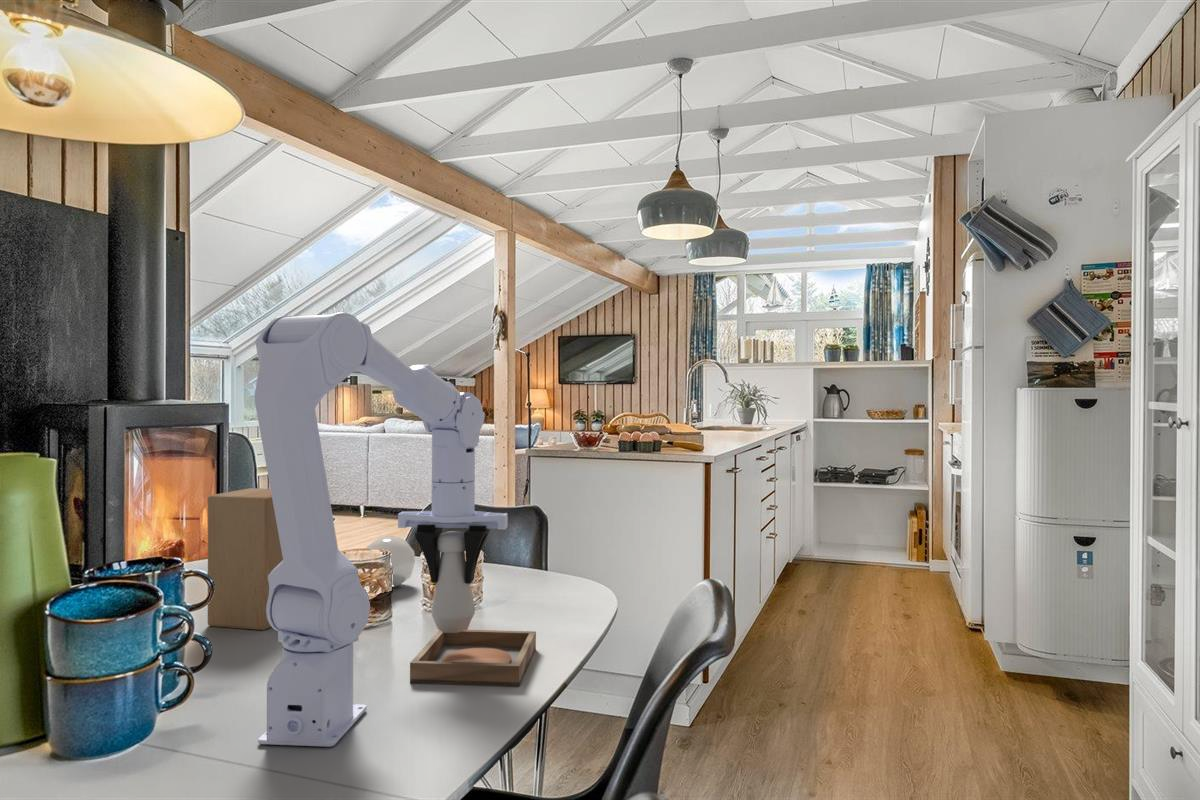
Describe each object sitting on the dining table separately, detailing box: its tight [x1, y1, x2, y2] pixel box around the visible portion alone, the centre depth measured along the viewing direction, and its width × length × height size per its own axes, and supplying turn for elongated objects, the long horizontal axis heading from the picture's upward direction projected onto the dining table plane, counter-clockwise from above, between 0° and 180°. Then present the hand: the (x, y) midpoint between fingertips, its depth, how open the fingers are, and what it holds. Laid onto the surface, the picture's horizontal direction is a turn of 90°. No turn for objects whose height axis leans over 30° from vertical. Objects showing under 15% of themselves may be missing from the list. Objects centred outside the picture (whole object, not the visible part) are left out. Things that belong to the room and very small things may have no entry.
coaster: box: [442, 648, 511, 664], centre depth 101 cm, size 9×9×1 cm
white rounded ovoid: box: [366, 535, 416, 588], centre depth 138 cm, size 9×10×15 cm
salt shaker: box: [430, 530, 476, 633], centre depth 103 cm, size 6×6×13 cm
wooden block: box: [207, 487, 283, 631], centre depth 120 cm, size 10×10×20 cm
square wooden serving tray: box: [409, 629, 537, 688], centre depth 101 cm, size 14×14×2 cm
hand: (452, 581), depth 103 cm, fingers closed on salt shaker, 4 cm apart
